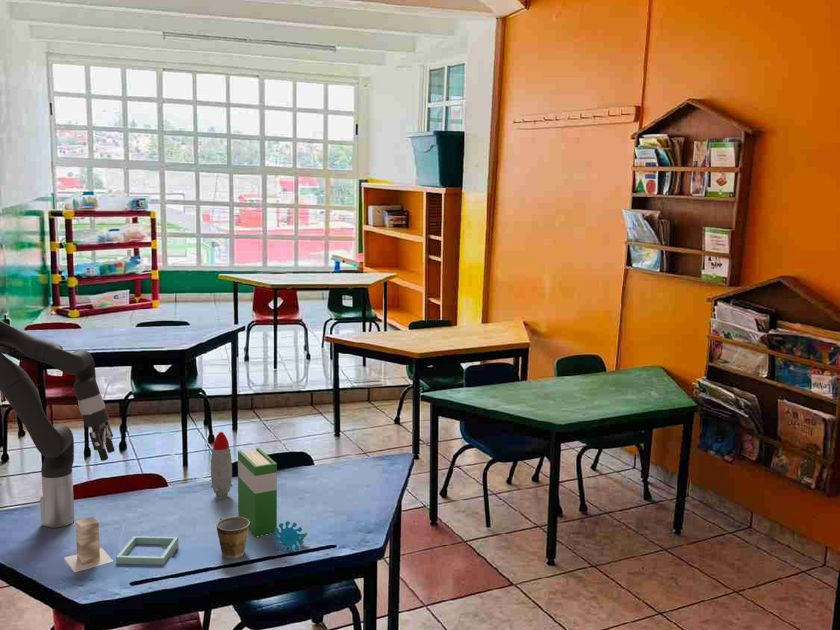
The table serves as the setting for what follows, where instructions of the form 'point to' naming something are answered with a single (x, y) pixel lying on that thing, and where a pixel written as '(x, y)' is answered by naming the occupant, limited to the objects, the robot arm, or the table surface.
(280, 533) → the teal virus model
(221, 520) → the ceramic cup
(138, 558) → the tray
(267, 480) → the hardback book
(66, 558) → the white board
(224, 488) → the toy rocket
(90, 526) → the birch block
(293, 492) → the table surface
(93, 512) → the table surface
